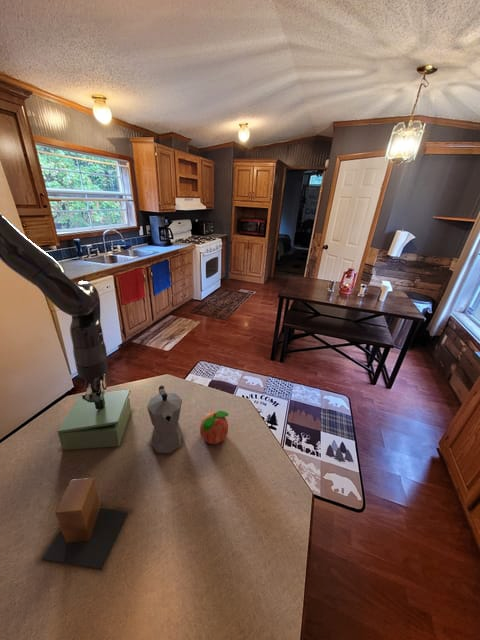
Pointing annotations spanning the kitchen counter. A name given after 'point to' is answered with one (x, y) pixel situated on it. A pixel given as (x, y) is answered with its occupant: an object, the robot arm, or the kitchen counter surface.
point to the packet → (78, 510)
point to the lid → (95, 412)
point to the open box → (96, 434)
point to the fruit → (214, 427)
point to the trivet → (89, 542)
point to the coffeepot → (165, 421)
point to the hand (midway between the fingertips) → (100, 407)
